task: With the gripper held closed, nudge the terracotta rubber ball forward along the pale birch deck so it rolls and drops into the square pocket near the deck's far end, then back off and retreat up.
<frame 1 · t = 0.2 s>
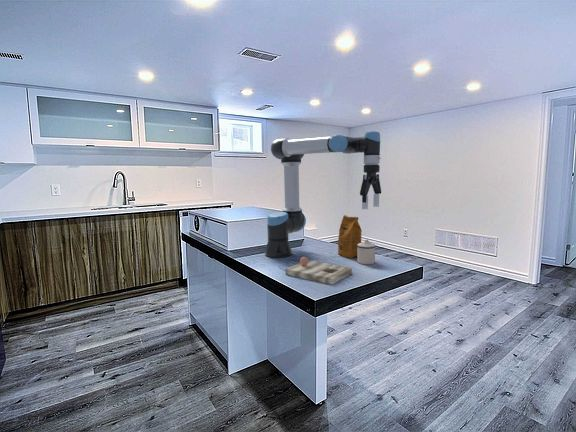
hand: (370, 207, 157), 28 cm above the countertop, fingers open, 13 cm apart
coffee package: (349, 255, 175), on the countertop
teacup with lid: (364, 261, 162), on the countertop
ball: (304, 265, 149), point 2 cm above the countertop, touching birch deck
birch deck: (318, 273, 144), on the countertop
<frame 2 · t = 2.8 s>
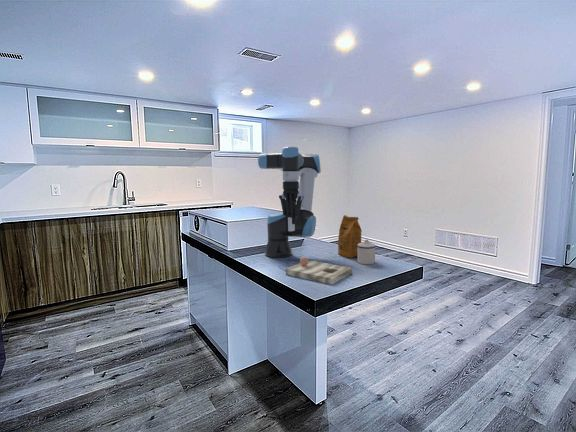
hand: (291, 230, 151), 18 cm above the countertop, fingers closed
nothing on the countertop moved.
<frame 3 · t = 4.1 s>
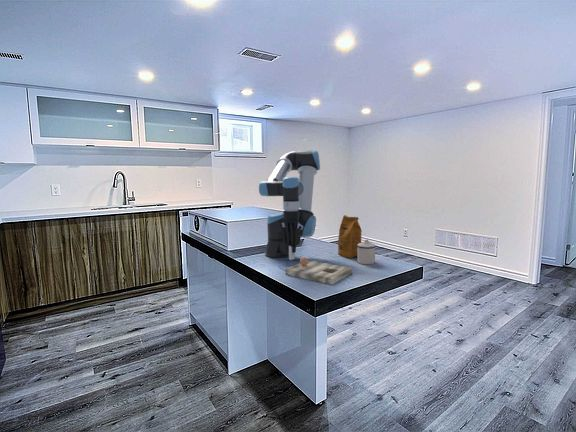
hand: (291, 258, 152), 5 cm above the countertop, fingers closed
nothing on the countertop moved.
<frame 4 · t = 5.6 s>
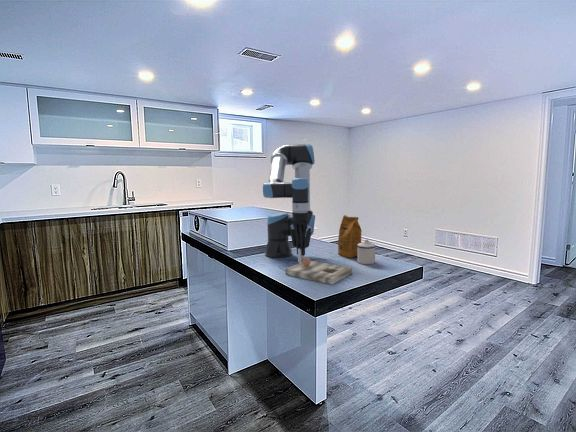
hand: (301, 261, 149), 4 cm above the countertop, fingers closed
ball: (304, 264, 148), point 3 cm above the countertop, tilted 35°, touching birch deck
everything else where it was.
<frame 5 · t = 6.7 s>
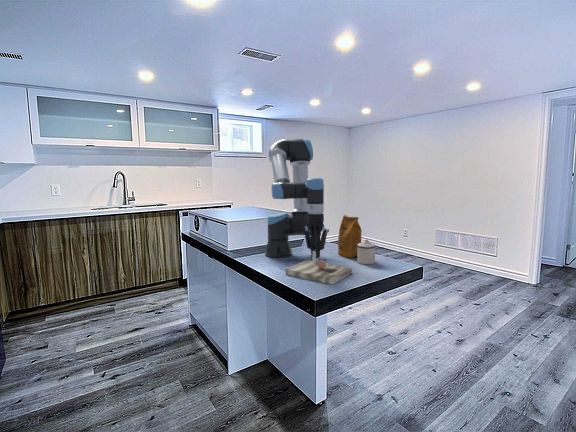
hand: (315, 264, 144), 4 cm above the countertop, fingers closed
ball: (325, 265, 141), point 4 cm above the countertop, tilted 88°, touching birch deck
everything else where it was.
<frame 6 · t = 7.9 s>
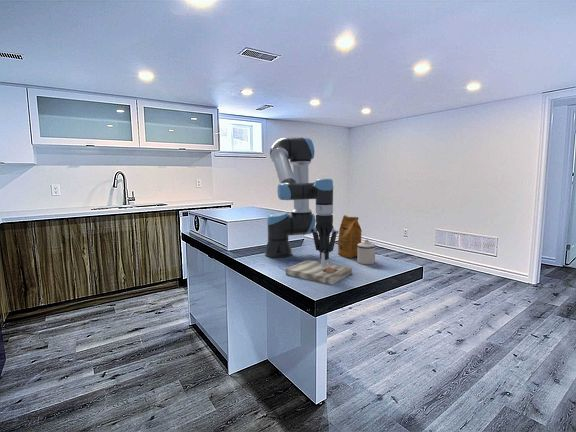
hand: (324, 266, 142), 4 cm above the countertop, fingers closed
ball: (326, 272, 141), point 2 cm above the countertop, tilted 77°
everything else where it was.
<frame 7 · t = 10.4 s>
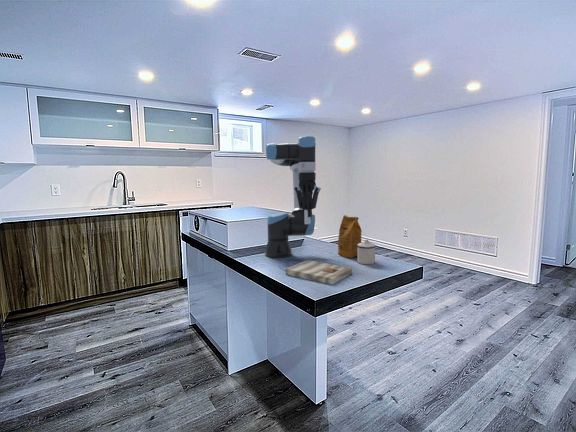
hand: (307, 223, 145), 22 cm above the countertop, fingers closed
ball: (325, 273, 142), point 1 cm above the countertop, tilted 52°
everything else where it was.
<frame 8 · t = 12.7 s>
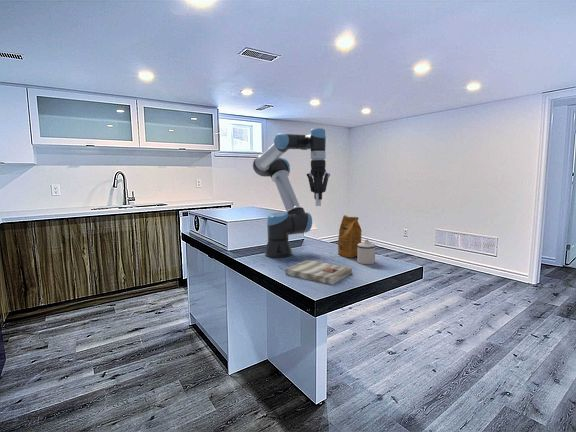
hand: (318, 205, 165), 28 cm above the countertop, fingers closed
nothing on the countertop moved.
at the end: ball 2.3 cm from the target spot, point 0.8 cm above the countertop; ball moved 11.8 cm from its start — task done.
